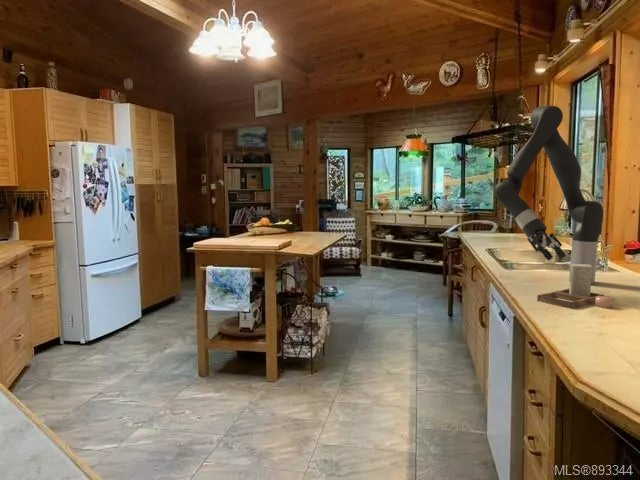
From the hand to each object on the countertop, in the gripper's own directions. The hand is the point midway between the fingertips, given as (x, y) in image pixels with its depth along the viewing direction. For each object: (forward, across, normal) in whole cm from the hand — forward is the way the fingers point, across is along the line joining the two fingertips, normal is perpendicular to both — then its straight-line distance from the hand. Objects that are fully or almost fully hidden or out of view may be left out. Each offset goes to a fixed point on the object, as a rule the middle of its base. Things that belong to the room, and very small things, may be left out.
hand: (557, 258), depth 180 cm
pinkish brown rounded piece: (+23, -3, -4) cm, 23 cm away
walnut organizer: (+16, -5, +3) cm, 17 cm away
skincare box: (+16, 0, +3) cm, 16 cm away
